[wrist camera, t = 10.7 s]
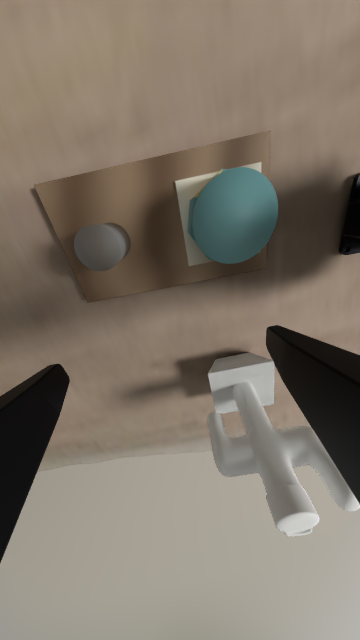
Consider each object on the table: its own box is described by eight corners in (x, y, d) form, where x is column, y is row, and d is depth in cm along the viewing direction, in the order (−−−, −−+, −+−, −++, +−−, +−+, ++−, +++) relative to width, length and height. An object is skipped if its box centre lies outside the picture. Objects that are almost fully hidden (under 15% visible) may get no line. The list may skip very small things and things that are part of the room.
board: (265, 134, 14) (307, 99, 10) (262, 266, 19) (289, 281, 15) (40, 186, 15) (-12, 174, 11) (90, 299, 20) (68, 323, 16)
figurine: (194, 354, 24) (221, 519, 11) (269, 339, 24) (393, 496, 10) (203, 392, 28) (232, 553, 15) (269, 380, 27) (362, 537, 14)
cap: (266, 223, 16) (292, 225, 13) (213, 266, 18) (224, 279, 14) (230, 159, 14) (250, 141, 11) (174, 215, 16) (175, 215, 12)
